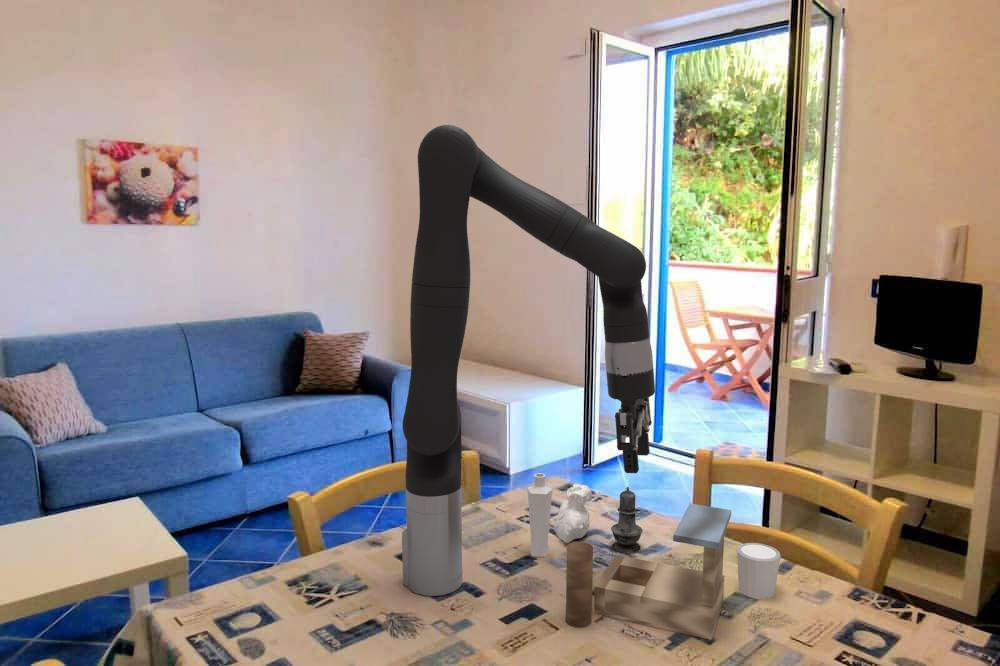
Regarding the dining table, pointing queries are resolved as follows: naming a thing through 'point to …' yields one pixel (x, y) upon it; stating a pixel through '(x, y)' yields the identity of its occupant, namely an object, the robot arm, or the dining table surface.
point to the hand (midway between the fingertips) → (637, 463)
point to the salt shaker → (626, 525)
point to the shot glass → (757, 570)
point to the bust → (573, 514)
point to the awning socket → (671, 581)
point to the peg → (579, 584)
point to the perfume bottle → (539, 516)
